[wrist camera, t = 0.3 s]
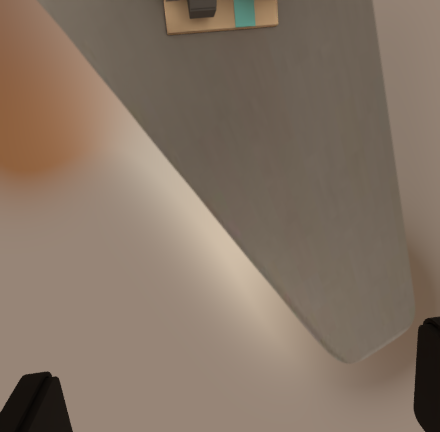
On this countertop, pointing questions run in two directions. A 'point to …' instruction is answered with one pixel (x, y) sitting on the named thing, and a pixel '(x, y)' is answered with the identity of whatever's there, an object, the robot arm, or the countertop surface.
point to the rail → (221, 16)
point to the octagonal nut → (201, 8)
